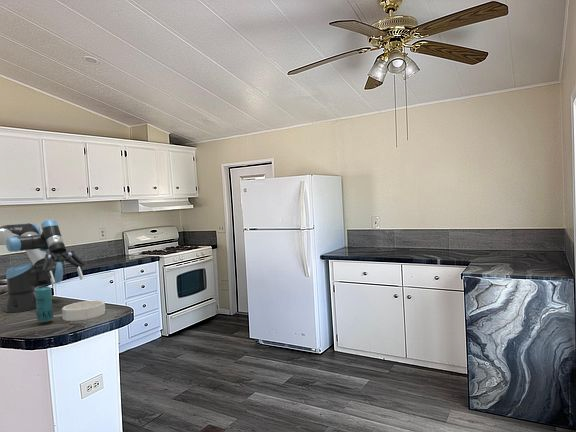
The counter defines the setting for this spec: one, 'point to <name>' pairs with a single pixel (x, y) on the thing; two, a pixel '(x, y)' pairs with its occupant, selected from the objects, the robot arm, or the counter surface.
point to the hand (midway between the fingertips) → (68, 280)
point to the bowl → (83, 310)
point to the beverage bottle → (44, 302)
